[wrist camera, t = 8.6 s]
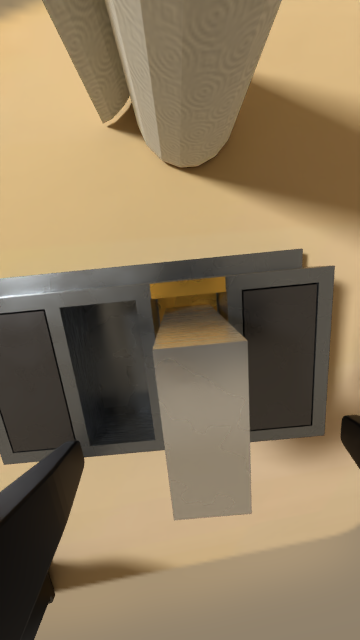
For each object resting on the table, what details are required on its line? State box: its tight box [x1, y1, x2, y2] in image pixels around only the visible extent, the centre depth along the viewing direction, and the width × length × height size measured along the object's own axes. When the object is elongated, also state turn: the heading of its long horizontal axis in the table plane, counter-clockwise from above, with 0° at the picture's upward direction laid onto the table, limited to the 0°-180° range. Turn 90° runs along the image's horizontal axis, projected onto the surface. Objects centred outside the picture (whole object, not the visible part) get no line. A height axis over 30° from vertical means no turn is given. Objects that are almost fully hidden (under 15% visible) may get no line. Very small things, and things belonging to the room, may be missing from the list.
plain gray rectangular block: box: [152, 304, 252, 520], centre depth 11 cm, size 3×7×8 cm, turn 5°
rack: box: [0, 249, 335, 465], centre depth 14 cm, size 21×13×4 cm, turn 96°
